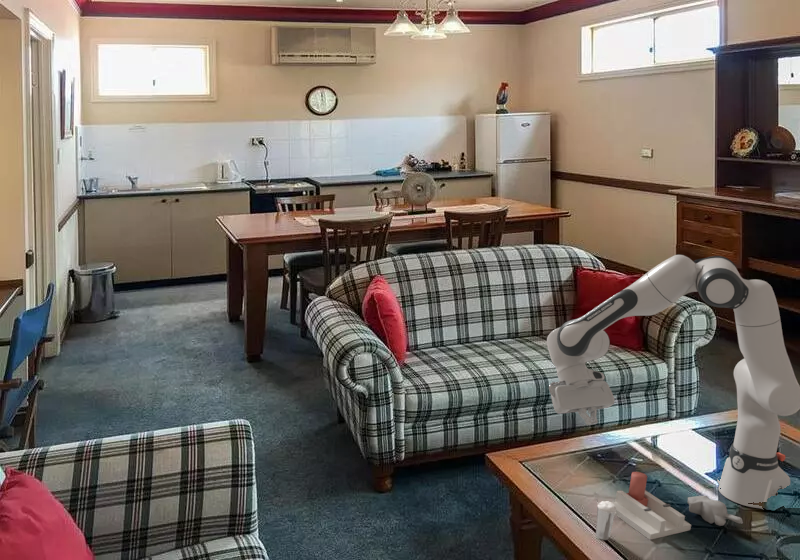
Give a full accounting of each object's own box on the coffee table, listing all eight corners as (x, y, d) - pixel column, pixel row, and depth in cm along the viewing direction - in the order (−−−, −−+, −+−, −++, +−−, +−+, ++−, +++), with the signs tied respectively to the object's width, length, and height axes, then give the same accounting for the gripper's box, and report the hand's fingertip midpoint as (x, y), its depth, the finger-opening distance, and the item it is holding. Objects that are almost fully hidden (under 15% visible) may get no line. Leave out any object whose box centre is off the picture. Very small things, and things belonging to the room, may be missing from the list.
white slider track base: (645, 499, 206) (647, 484, 205) (690, 530, 192) (693, 513, 191) (606, 508, 200) (608, 491, 199) (649, 539, 186) (652, 522, 185)
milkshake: (592, 528, 189) (598, 492, 187) (613, 535, 187) (619, 499, 184) (587, 536, 185) (593, 499, 183) (609, 543, 183) (615, 506, 181)
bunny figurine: (708, 490, 207) (748, 512, 192) (707, 507, 207) (746, 531, 193) (679, 492, 204) (717, 515, 190) (678, 510, 204) (715, 534, 190)
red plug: (635, 498, 203) (639, 470, 201) (646, 506, 199) (651, 477, 197) (622, 500, 201) (627, 472, 199) (634, 508, 197) (639, 480, 195)
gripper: (552, 378, 213) (569, 423, 207) (607, 372, 223) (625, 416, 216) (541, 387, 218) (557, 432, 212) (595, 381, 227) (612, 424, 221)
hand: (592, 424), depth 214 cm, fingers closed
